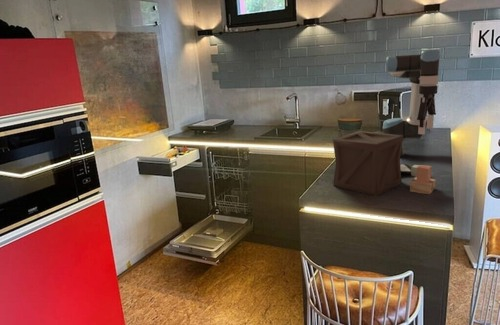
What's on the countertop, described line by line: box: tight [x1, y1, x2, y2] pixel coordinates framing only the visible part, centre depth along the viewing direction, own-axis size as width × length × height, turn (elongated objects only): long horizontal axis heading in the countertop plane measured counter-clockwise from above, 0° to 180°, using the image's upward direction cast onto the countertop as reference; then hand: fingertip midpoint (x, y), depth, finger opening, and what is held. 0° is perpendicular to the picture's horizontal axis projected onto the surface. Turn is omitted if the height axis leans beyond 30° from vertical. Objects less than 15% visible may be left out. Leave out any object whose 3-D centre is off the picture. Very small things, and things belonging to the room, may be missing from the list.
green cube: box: [410, 164, 421, 177], centre depth 206 cm, size 5×5×5 cm
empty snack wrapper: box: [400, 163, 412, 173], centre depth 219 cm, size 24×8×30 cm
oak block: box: [409, 176, 436, 195], centre depth 184 cm, size 9×9×5 cm
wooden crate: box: [332, 130, 404, 197], centre depth 195 cm, size 25×25×25 cm
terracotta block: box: [416, 164, 432, 183], centre depth 182 cm, size 5×5×7 cm
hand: (425, 131), depth 178 cm, fingers open, 13 cm apart
